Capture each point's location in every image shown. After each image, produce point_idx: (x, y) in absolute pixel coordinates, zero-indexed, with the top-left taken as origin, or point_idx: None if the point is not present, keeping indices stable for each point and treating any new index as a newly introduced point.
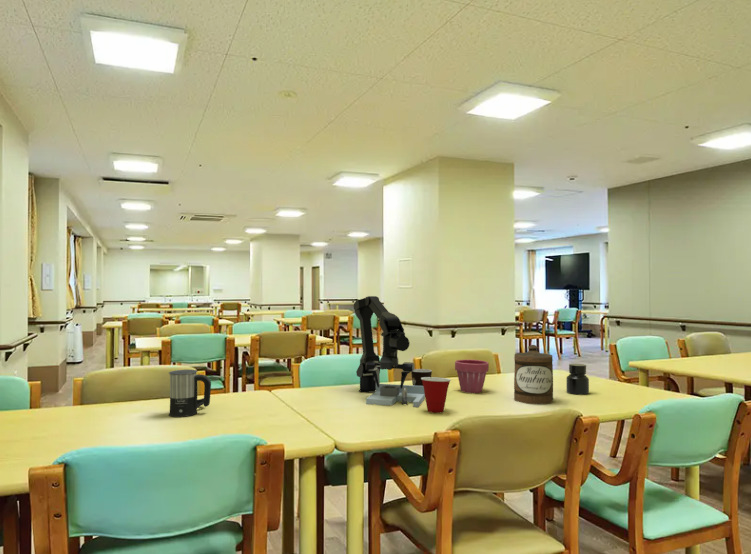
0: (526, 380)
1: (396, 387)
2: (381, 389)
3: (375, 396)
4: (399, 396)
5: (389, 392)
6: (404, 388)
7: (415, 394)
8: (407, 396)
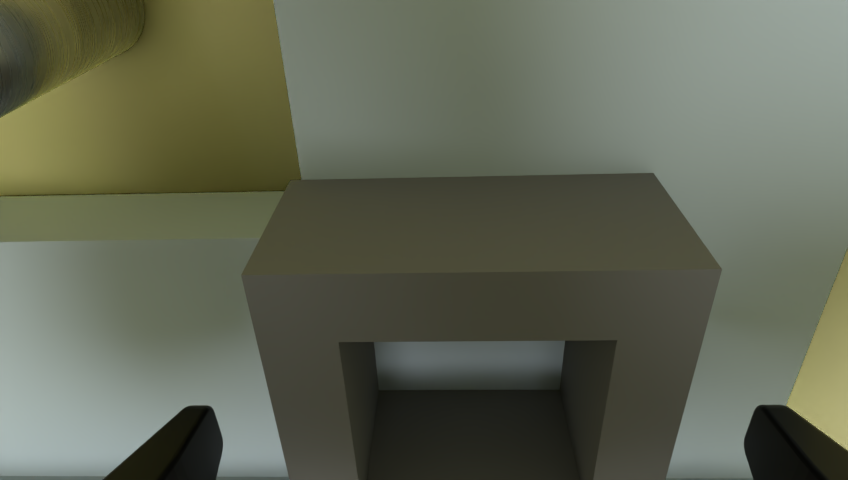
0: None
1: (312, 432)
2: (669, 250)
3: (764, 70)
4: (246, 236)
5: (439, 219)
6: None
7: (66, 429)
8: (98, 264)
